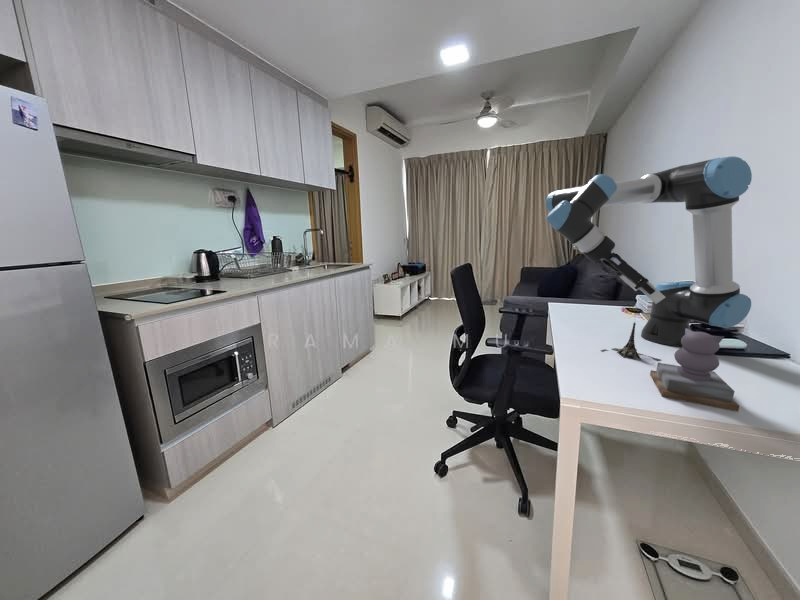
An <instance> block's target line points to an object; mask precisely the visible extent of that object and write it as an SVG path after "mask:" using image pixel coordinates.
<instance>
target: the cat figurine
mask: <svg viewBox="0 0 800 600" xmlns="http://www.w3.org/2000/svg"><path fill="white" fill-rule="evenodd" d="M724 338H725V335H724V336H723V335H712V334H710V333H707V332H705V331H693V330H691V329H690V330H689V329H687V328H686V329H685V335H684V336H683V337H682V339H681V344H682V346H681V348H679V349H677V350H676V351H675V353H674V354H673V355H674V360H675V361H676V363H677V364H678V366H679V367H678V368H677V373H678V374H679V375H681V376H683V377H685V378H688V379H691V380H696V381H709V380H710V377H711V374H710V373H709V372H710V371H715V370H717V368H719V366H720V360H719V357H718V356H717V355H716V354H715V353H717V352H718V351H719V350H720V345H721V344H720V343H721V341H722V340H724Z"/></svg>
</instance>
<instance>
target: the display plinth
mask: <svg viewBox="0 0 800 600" xmlns="http://www.w3.org/2000/svg"><path fill="white" fill-rule="evenodd" d="M679 366H680V365H675V364H668V363H662V362H657V366H656V369H655V370H654V369H653V370H652V369H651V370H650V372H649V373H650V374H649V376H650V377H651V380H652V381H653V383H654V384H655V386H656V389H657V390H658V392H659V394H660V395H661V397H663V398H667V399H672V400H678V401H683V402H689V403H692V404H698V405H703V406H708V407H712V408H719V409H721V410H727V411H731V412H733V411H734V412H736V413H737V412H739V410H740V405H739V404H738V403H737V402H736V400H735V399H734V396H735V390H734V389H733V388H732V387H731V386H730V385H729V384H727V382H725V380H724V379H722V378H721V376H720V375H719V374H717V372H716V371H715V370H713V371H710V372H709V373H710V374H711V377H710V380H709V381H696V380H691V379H688V378H685V377H683V376H681V375H679V374H678V373H677V368H678V367H679Z"/></svg>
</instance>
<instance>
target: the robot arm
mask: <svg viewBox="0 0 800 600" xmlns="http://www.w3.org/2000/svg"><path fill="white" fill-rule="evenodd" d="M752 175H753V174H752V170H751V166H750V165H749V164H748V162H747V161H746V160H744V159H743V158H741V157H740V156H739V157H738V156H734V155H733V156H726V157H725V156H724V157H723V156H722V157H717V158H712V159H708V160H702V161H698V162H694V163H690V164H689V163H688V164H683V165H679V166H676V167H672V168H669V169H665V170H661V171H657V172H654V173H653V172H652V173H648V174H645V175H643V176H642V177H640V178H635V179H629V180H628V179H626V180H620V181H615V180H614V179H613V177H611V176H609V175H606V174H605V173H604V174H603V173H600V174H596V175H594V176H593V177H592V178H591V179H589V180H588V182H587V183H586V184H582V185H578V186H573V187H570V188H569V187H568V188H564V189H557V190H555V191H552V192H550V193H549V194H548V195H547V197H546V199H545V209H547V211H548V212H549V213H548V214H547V216H546V218H545V219H546V221H547V223H548V224H549V225H550V226H551V227H552V228H553V230H554V231H556V232H557V233H558V234H560V235H561V236H562V237H563V238H564V239H566V240H567V241H568V242H570V244H571V245H572V247H573V250H578V251H579V252H580V253H583V255H584V256H585V258H587V259H588V261H590V262H592V263H595V262H596V263H597V262H599V261H601V263H602V264H603V265H604V266H606V267H607V268H609V269H610V270H611V271H612V273H614V274H615V275H616V276H619V278H620V279H621V280H622V281H623V282H625V284H627V286H629V287H630V288H631V289H632V290H633V291H634V292H637V291H638V290H639V291H640V292H642V293H643V294H644V295H645V296H646V297H647V298H649V300H650V301H652V303H651V308H650V315H649V318H648V320H647V321H646V323H645V325H644V326H643V328H642V329H641V332H640V337H641V338H642V339H645V340H647V341H649V342H653V343H657V344H661V345H666V346H674V347H683V346H682V344H681V339H682V337H683V336H684V335H685V329H686V328H687V329H689V330H691V327H690V326H691V325H690V321H694V322H698V323H703V324H707V325H709V326H712V327H719V328H723V329H727V328H728V329H729V328H732V327H736V326H737V325H738V324H740V323H741V322H742V321H744V320H745V318H747V316H748V315H749V313H750V311H751V309H752V300H751V298H750V297H749V296H748V295H746V294H744V293H741V290H740V288H741V285H740V284H739V283H737V282H735V281H734V280H733V279H734V277H733V275H734V273H733V272H734V271H733V221H732V220H733V211H732V209H733V207H734V205H735V204H737V203H739V202H740V197H741V196H742V195H744V194H746V192H747V191H748V190H749V186H750V185H751V183H752V177H753V176H752ZM638 202H639V203H641V204H652V203H653V204H654V203H685V210H686V211H687V212H689V213H691V215H692V231H693V252H694V253H693V254H694V255H693V256H694V273H695V275H694V276H695V277H694V279H695V282H692V281H688V282H687V281H662V282H661V281H660V282H659V283H657V284H656V286H654V285H653V284H651V283H650V282H649V279H648V278H646V277H645V276H643V275H642V274H641V273H639V272H638V270H636V269H635V268H634V267H632V266H631V265H629V263H628V262H627V261H625V259H623V257H621V255H619V254H618V253H615V252H612V251H613V250H614V249H615V247H616V243H615V242H614V241H613V240H612V239H611V238H610V237H608V236H607V235H605V233H604V232H603V231H602V230H601V229H600V228H599V227H598V226H597V225H596V224H594V223H593V222H592V221H591V218H592V217H594V216H595V214H596V213H597V212H598V211H600V209H601V208H604V207H610V206H611V207H612V206H618V205H626V204H631V203H638Z"/></svg>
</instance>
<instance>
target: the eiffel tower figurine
mask: <svg viewBox="0 0 800 600" xmlns="http://www.w3.org/2000/svg"><path fill="white" fill-rule="evenodd" d="M636 324H637V323H636V322H633V324H632V329H631V333H630V336H629V339H628V341H627V343H626V344H625V345H623V347H622V348H617V347H614V348H611V351H614V352H616V353H617V354H618V355H619V356H620V357H622V359H623V358H624V359H632V360H642V358H641V357H640V356H646V357H649V358H651V359H652V360H654V361H659V362H661V361H663V360H662V359H660V358H656V357H654V356H653V357H652V356H649V355H645V354H643V353H639V352H638V351H637V350H638V349H637V348H636V345H635V333H636V332H635V331H636ZM609 351H610V350H608V349H606V348H604V349H601V350H600V352H602V353H605V352H609Z"/></svg>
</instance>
